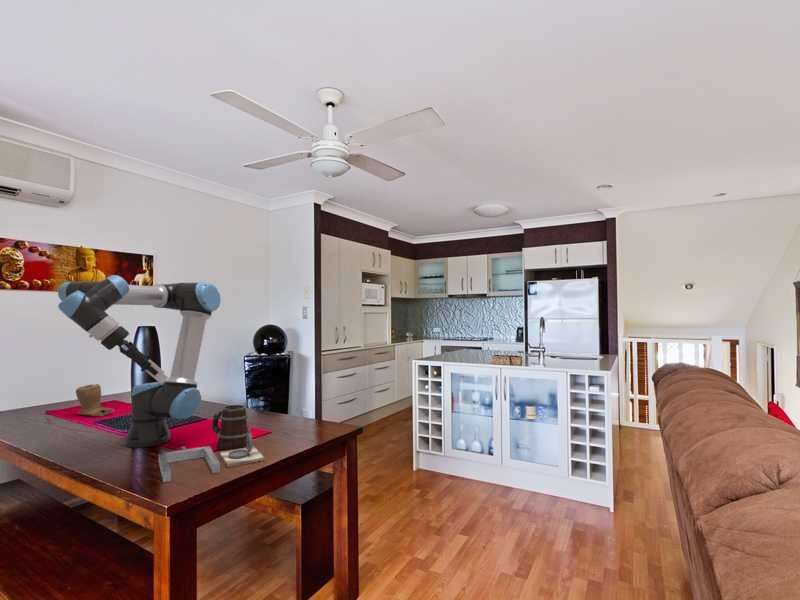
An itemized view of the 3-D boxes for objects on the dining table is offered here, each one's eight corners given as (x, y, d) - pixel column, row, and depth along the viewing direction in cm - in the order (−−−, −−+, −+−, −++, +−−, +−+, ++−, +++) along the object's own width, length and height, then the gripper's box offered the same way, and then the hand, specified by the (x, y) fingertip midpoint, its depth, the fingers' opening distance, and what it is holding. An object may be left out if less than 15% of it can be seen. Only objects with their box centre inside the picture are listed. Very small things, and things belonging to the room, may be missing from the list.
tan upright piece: (69, 416, 206) (70, 385, 206) (95, 411, 217) (96, 381, 217) (89, 419, 200) (90, 387, 200) (114, 414, 210) (115, 383, 211)
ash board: (219, 455, 153) (219, 451, 153) (253, 449, 159) (254, 446, 159) (227, 467, 141) (227, 463, 141) (264, 460, 148) (264, 457, 148)
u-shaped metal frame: (157, 457, 150) (157, 448, 150) (206, 449, 159) (206, 441, 159) (163, 482, 128) (163, 472, 128) (219, 472, 137) (219, 462, 137)
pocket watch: (224, 457, 148) (224, 428, 148) (243, 450, 155) (243, 422, 155) (240, 461, 144) (241, 431, 144) (259, 453, 151) (260, 425, 152)
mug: (255, 442, 168) (256, 404, 168) (236, 452, 156) (236, 411, 156) (222, 439, 172) (222, 402, 172) (200, 448, 160) (201, 408, 161)
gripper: (101, 339, 142) (151, 380, 150) (96, 345, 121) (156, 392, 129) (120, 323, 145) (169, 364, 153) (119, 326, 124) (176, 374, 132)
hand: (163, 377), depth 141 cm, fingers open, 13 cm apart
